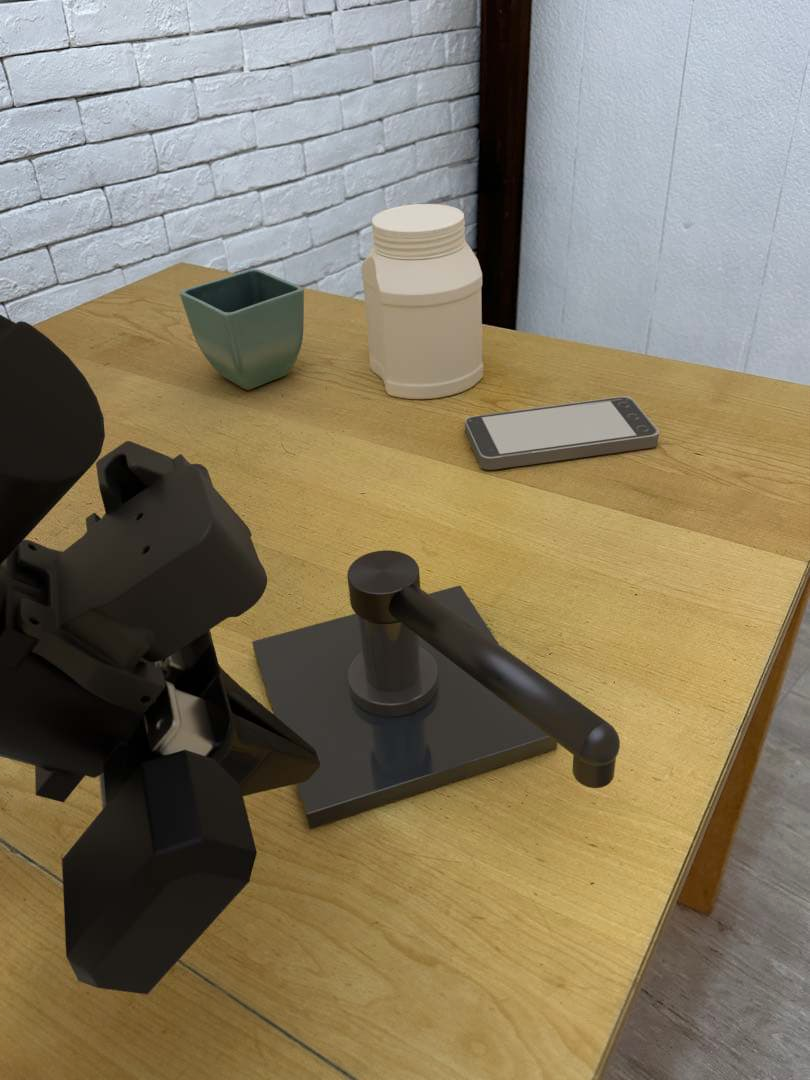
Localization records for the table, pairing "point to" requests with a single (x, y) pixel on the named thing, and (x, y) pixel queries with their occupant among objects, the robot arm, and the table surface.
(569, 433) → the smartphone
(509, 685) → the spout
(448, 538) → the table surface
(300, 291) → the flower pot
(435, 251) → the jar
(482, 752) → the black flat block
